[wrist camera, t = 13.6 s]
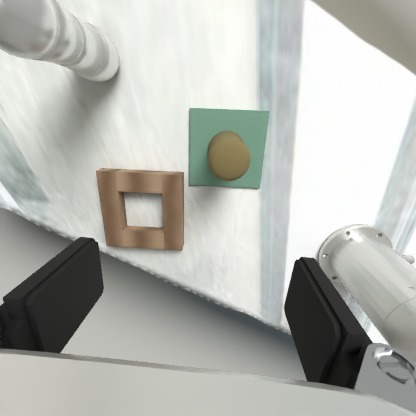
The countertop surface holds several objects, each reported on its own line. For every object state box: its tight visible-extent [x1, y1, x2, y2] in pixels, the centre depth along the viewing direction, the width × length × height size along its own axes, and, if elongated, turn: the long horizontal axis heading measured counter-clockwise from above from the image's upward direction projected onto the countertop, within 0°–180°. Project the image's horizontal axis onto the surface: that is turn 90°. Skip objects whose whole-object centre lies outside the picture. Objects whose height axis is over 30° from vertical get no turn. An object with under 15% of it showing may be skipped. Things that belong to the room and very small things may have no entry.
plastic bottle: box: [0, 0, 119, 82], centre depth 23 cm, size 6×7×20 cm
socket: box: [96, 168, 184, 250], centre depth 39 cm, size 14×14×2 cm
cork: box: [208, 131, 251, 181], centre depth 31 cm, size 6×6×11 cm
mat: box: [189, 108, 269, 188], centre depth 36 cm, size 12×12×1 cm
